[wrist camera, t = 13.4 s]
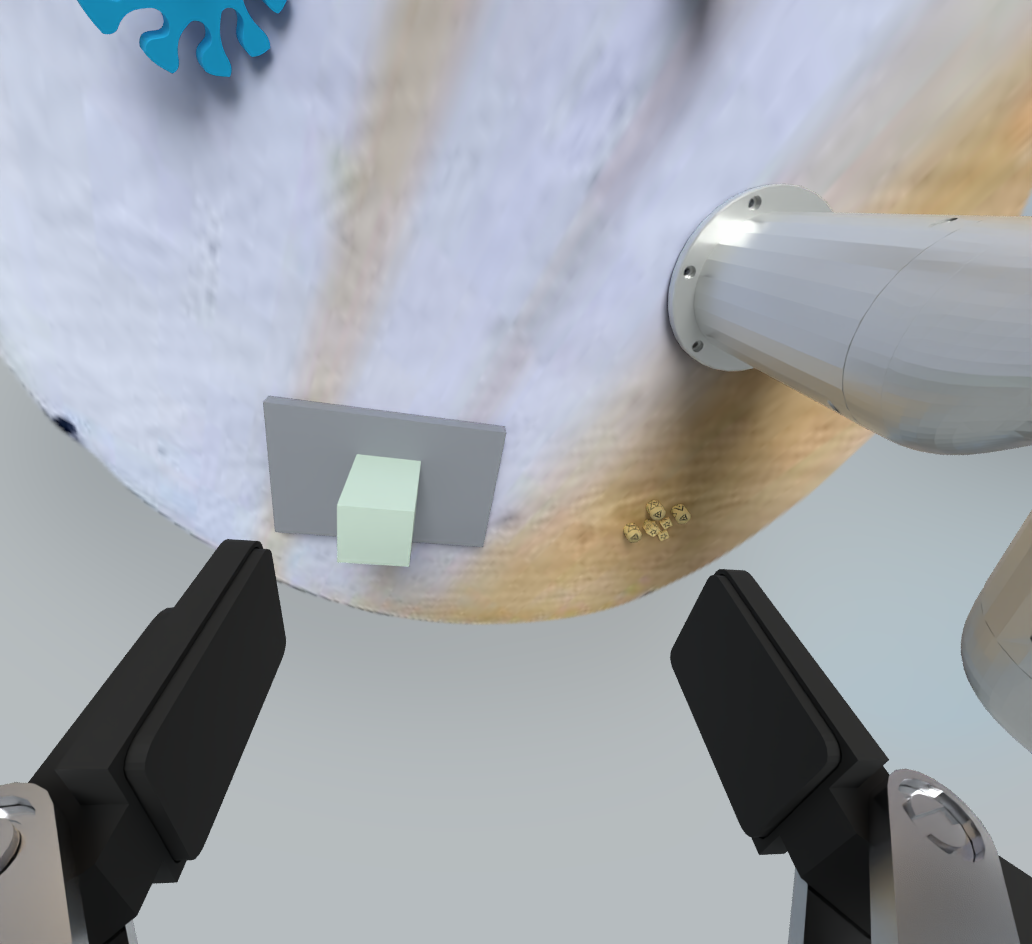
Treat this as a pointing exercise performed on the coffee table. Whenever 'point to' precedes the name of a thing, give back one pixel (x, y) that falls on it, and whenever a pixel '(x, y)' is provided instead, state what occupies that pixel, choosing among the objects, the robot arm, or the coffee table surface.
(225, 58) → the gear
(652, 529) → the dice set
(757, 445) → the coffee table surface
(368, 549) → the block
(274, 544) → the coffee table surface
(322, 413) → the pin plate
